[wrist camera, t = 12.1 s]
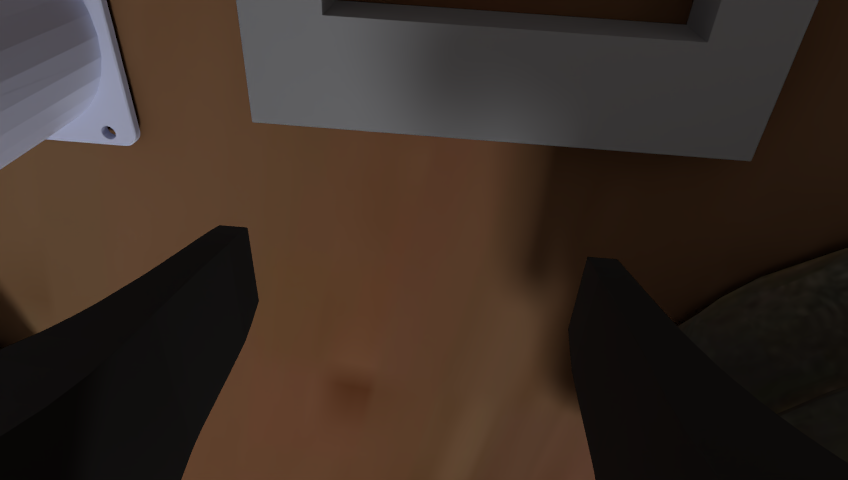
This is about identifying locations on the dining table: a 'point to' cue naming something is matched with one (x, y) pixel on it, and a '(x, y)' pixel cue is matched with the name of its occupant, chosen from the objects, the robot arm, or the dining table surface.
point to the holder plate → (525, 73)
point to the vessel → (787, 344)
